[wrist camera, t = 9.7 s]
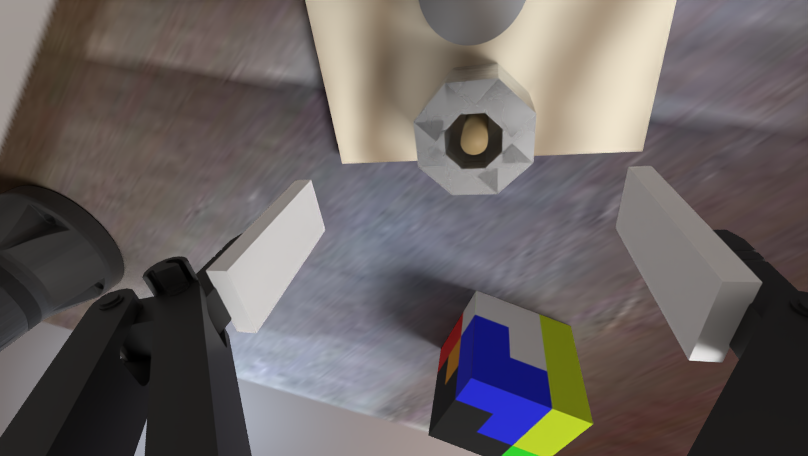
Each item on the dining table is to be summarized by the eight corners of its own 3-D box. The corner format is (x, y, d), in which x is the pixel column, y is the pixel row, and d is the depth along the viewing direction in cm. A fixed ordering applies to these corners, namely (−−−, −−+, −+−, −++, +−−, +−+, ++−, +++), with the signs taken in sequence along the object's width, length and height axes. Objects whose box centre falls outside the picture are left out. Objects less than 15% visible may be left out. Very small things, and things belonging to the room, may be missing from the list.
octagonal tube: (432, 165, 29) (421, 195, 24) (423, 70, 25) (409, 86, 21) (525, 162, 27) (531, 193, 23) (530, 59, 23) (538, 74, 19)
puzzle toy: (476, 290, 36) (471, 377, 28) (570, 325, 36) (593, 424, 28) (441, 348, 42) (428, 435, 34) (522, 378, 42) (529, 473, 34)
